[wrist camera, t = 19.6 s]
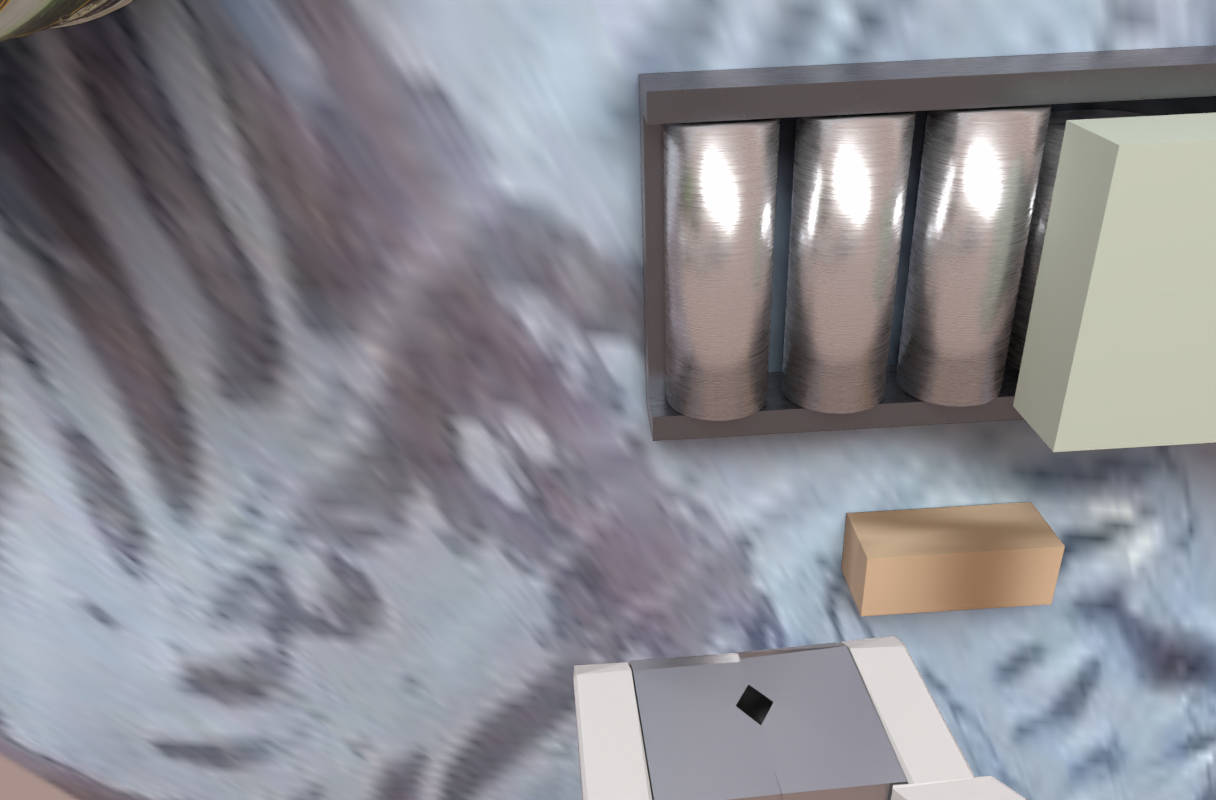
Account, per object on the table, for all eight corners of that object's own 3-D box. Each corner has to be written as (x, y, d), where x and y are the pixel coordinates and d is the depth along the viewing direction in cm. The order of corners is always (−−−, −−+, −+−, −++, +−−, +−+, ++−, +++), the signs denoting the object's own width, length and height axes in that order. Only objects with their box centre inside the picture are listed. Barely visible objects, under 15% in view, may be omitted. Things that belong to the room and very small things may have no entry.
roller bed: (646, 407, 31) (665, 517, 25) (638, 66, 26) (660, 115, 20) (1281, 370, 31) (1430, 471, 26) (1395, 29, 26) (1608, 67, 21)
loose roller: (1173, 114, 26) (1056, 105, 27) (1150, 139, 24) (1024, 127, 25) (1119, 350, 29) (1017, 328, 31) (1094, 389, 27) (986, 364, 29)
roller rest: (841, 568, 34) (861, 616, 32) (846, 513, 33) (867, 558, 31) (1019, 557, 34) (1051, 604, 32) (1030, 501, 33) (1065, 546, 31)
